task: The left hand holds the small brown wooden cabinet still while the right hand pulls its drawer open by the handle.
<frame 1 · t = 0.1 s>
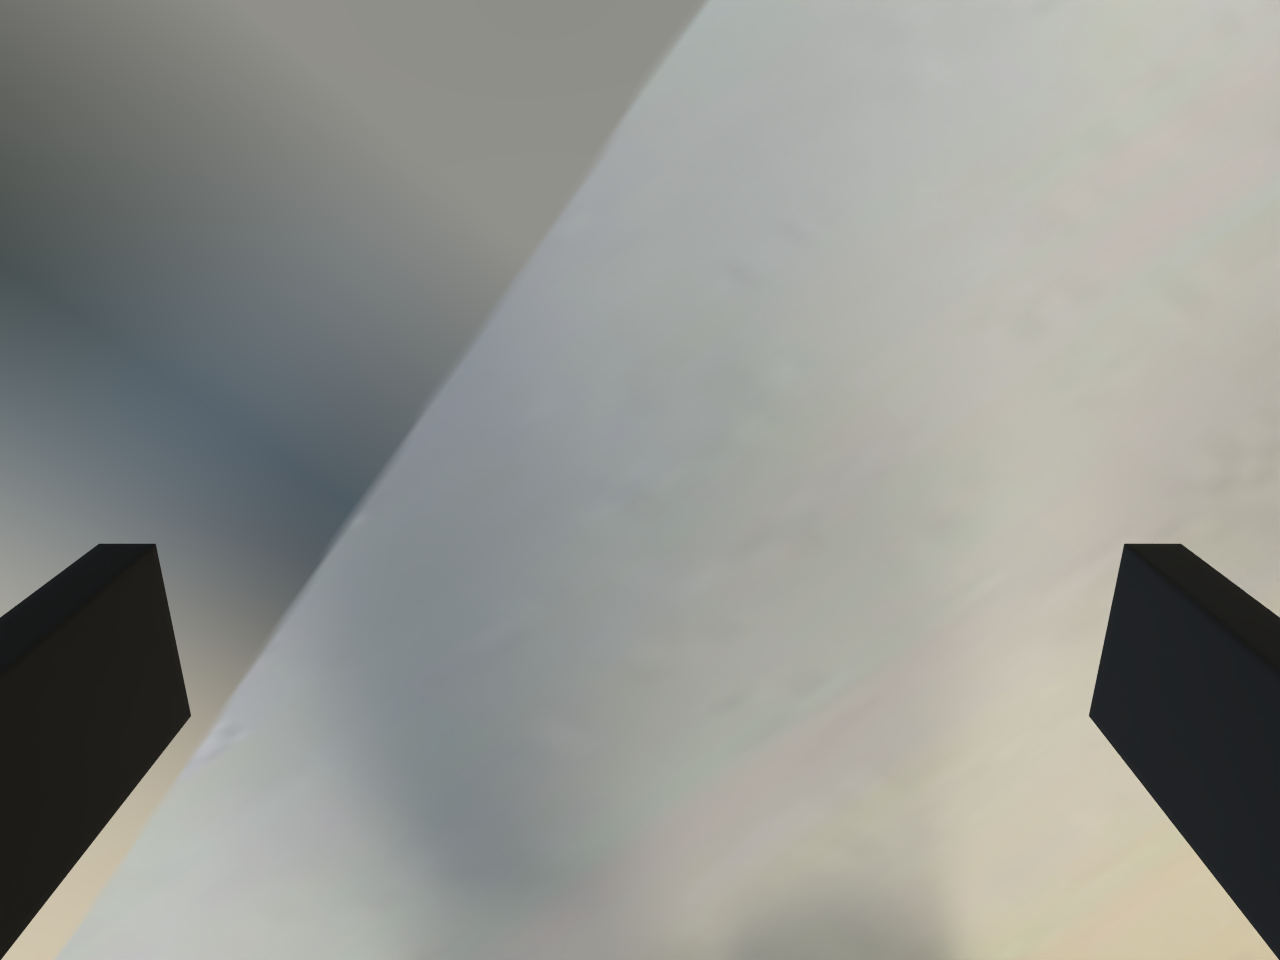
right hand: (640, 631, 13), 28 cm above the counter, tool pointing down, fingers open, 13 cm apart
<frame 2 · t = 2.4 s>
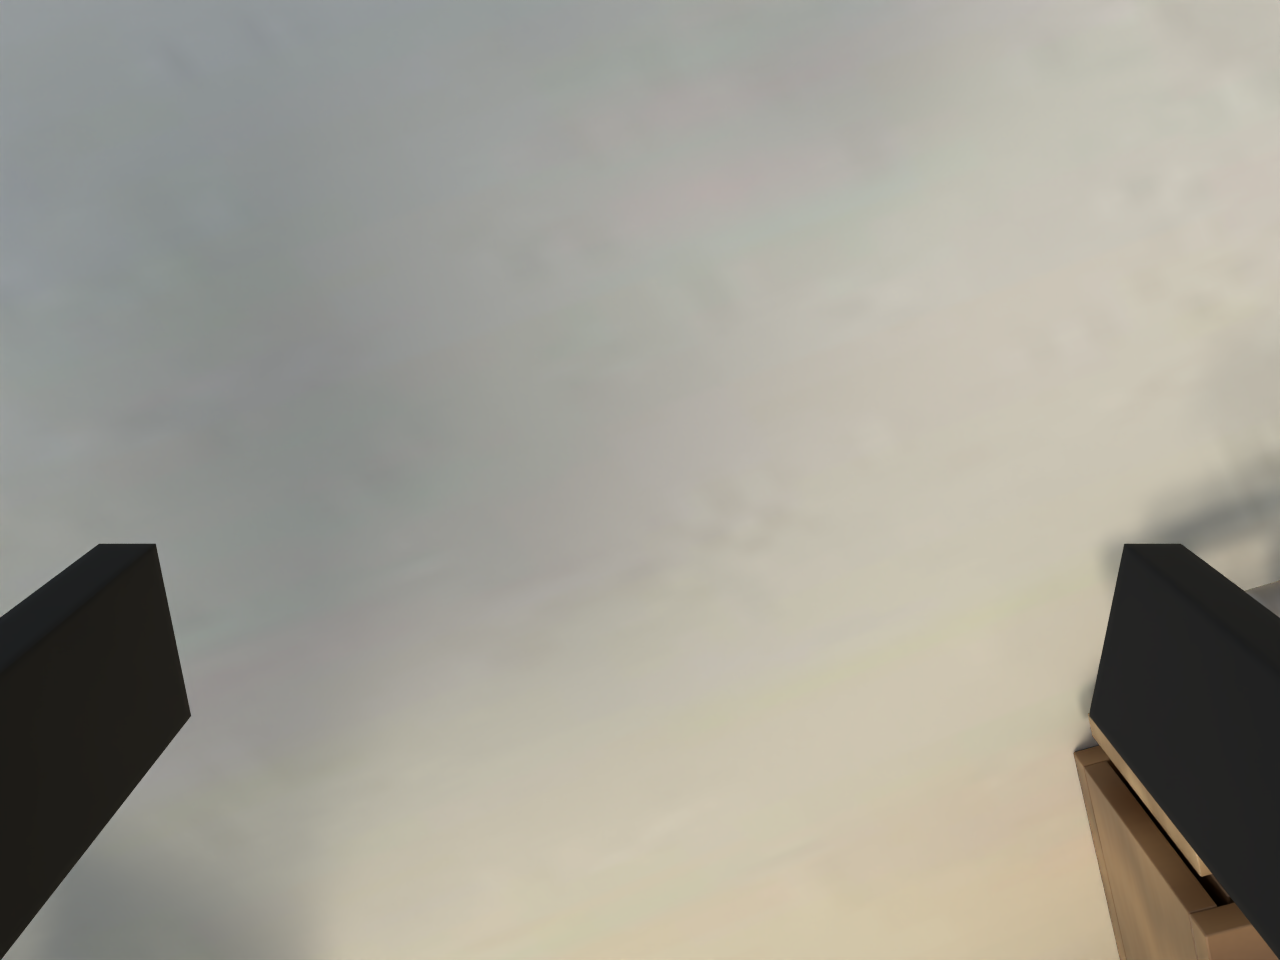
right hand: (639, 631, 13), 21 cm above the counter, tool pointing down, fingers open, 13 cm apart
cabinet: (1236, 904, 42), on the counter
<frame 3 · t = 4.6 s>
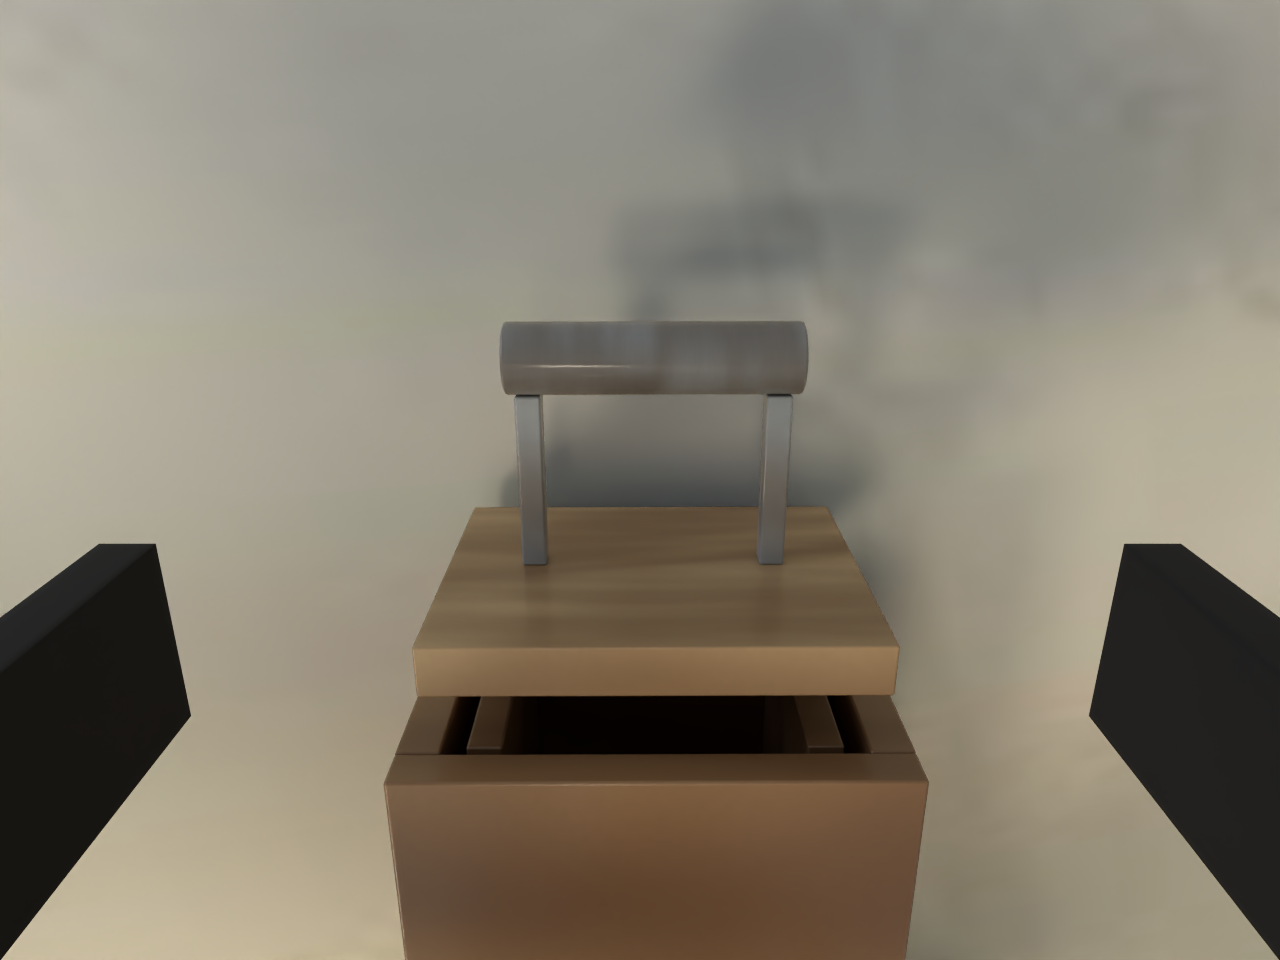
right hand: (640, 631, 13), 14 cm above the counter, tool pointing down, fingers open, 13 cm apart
drawer: (652, 807, 25), point 5 cm above the counter, slide at 1.4 cm
cabinet: (649, 856, 32), on the counter, touching left hand
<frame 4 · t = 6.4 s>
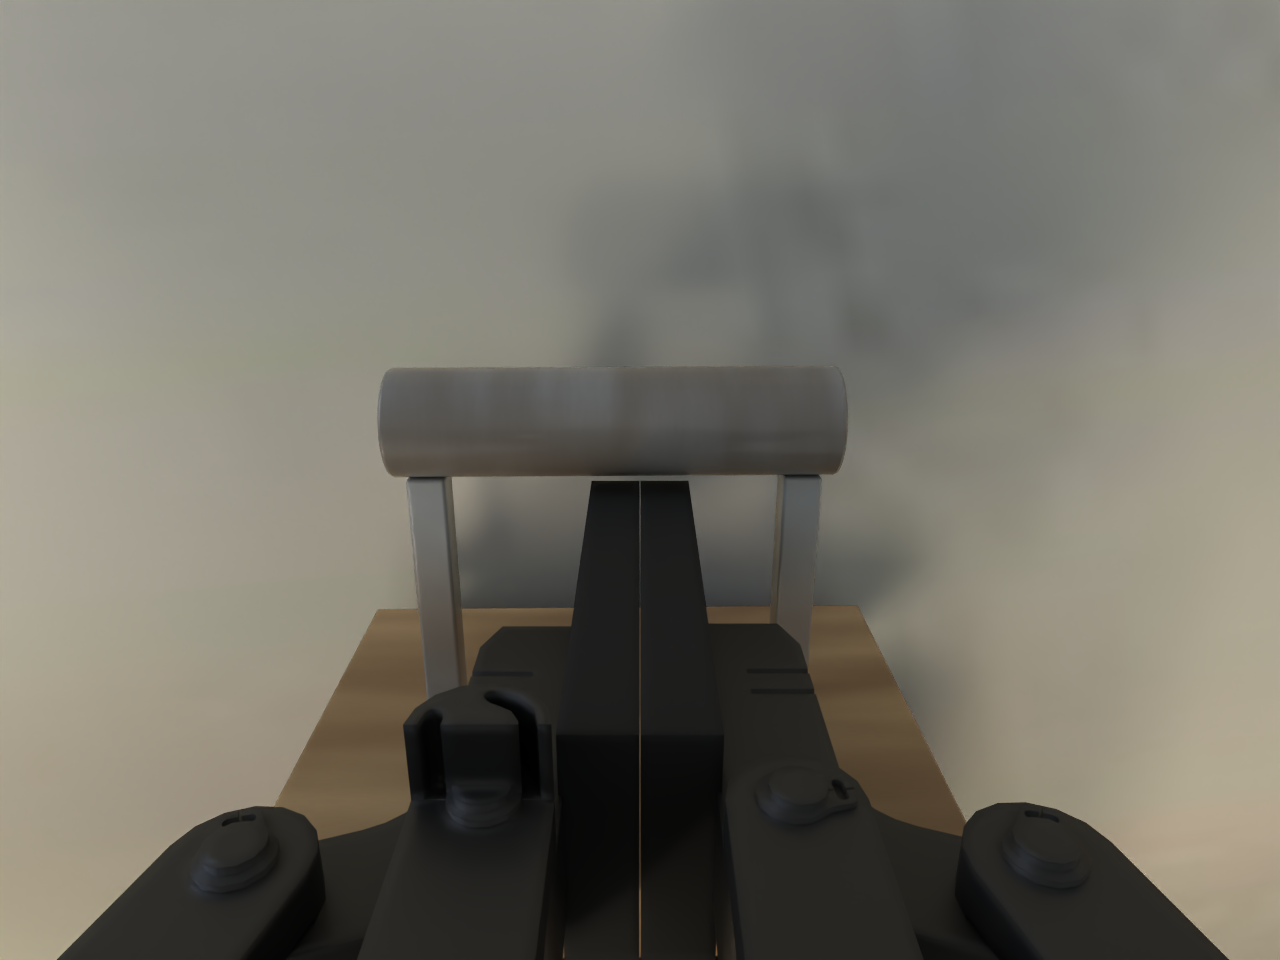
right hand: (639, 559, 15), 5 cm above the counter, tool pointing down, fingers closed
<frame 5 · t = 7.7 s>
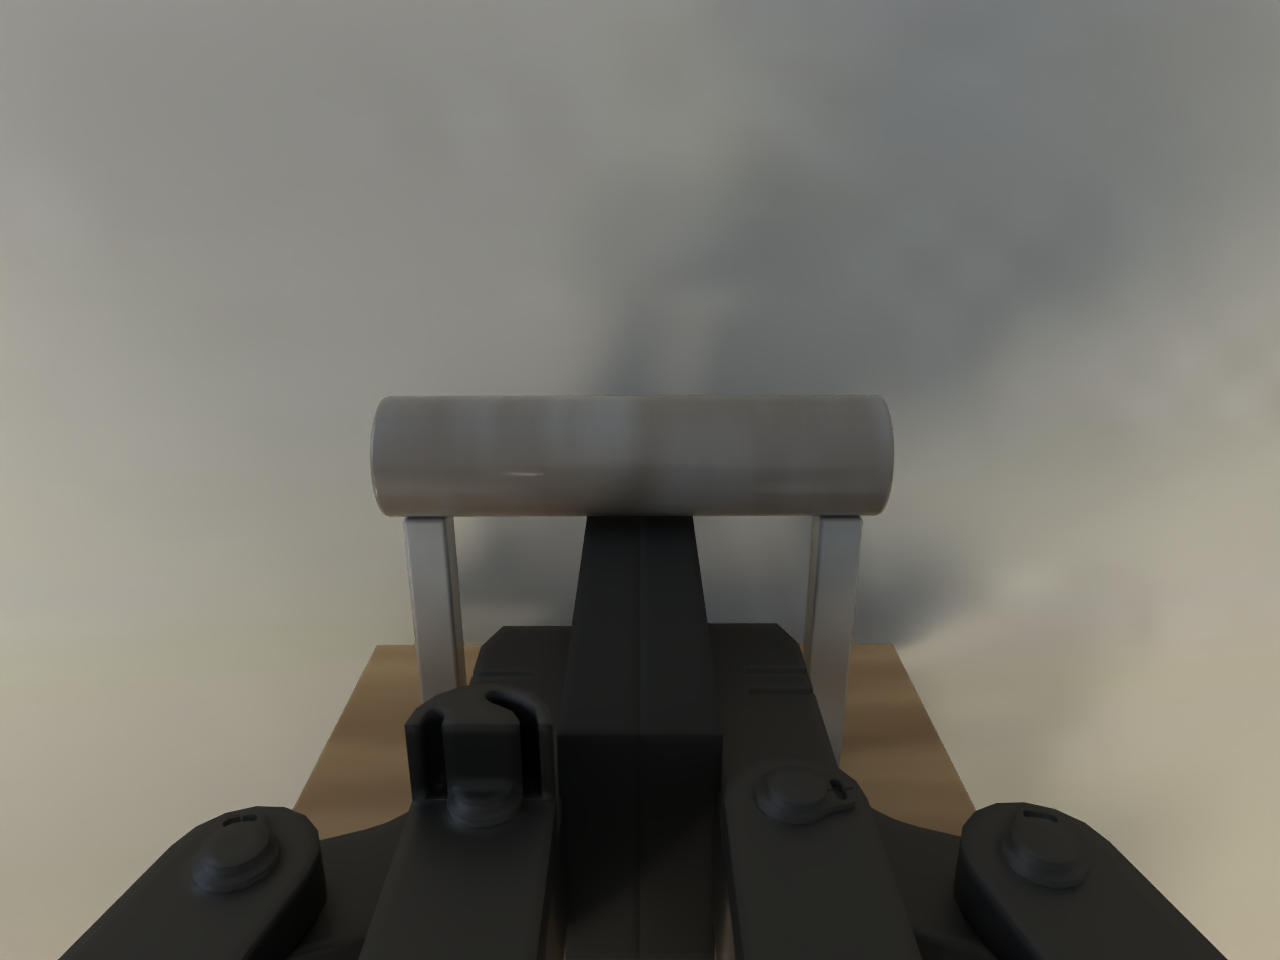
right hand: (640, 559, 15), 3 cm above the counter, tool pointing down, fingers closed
when the left hand's fingers open (5 cm above the counter, at t = 9.7 s): cabinet stays where it is, on the counter.
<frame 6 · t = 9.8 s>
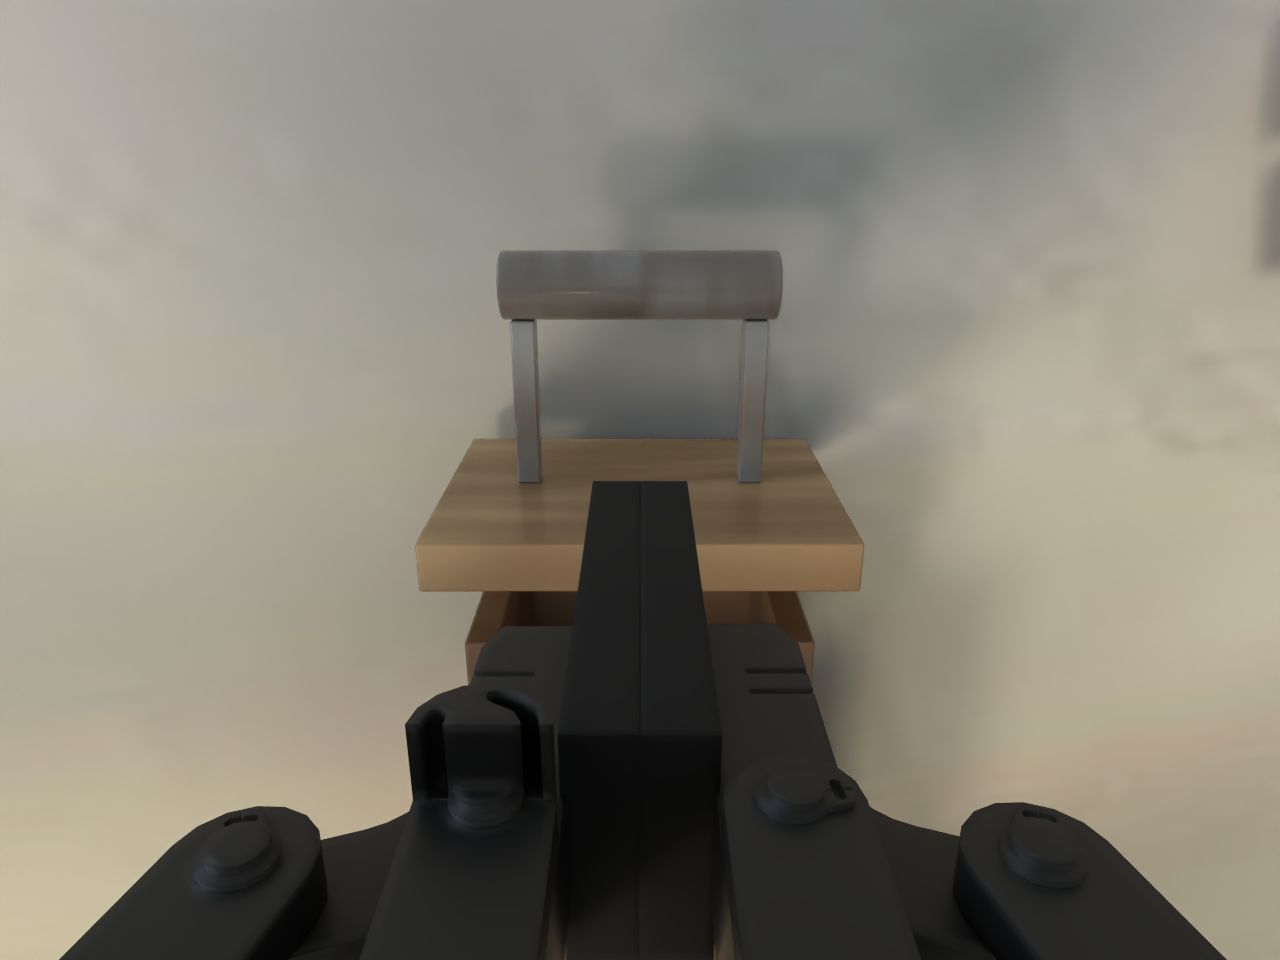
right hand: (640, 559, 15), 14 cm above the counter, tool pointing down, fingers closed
drawer: (639, 718, 26), point 5 cm above the counter, slide at 7.4 cm
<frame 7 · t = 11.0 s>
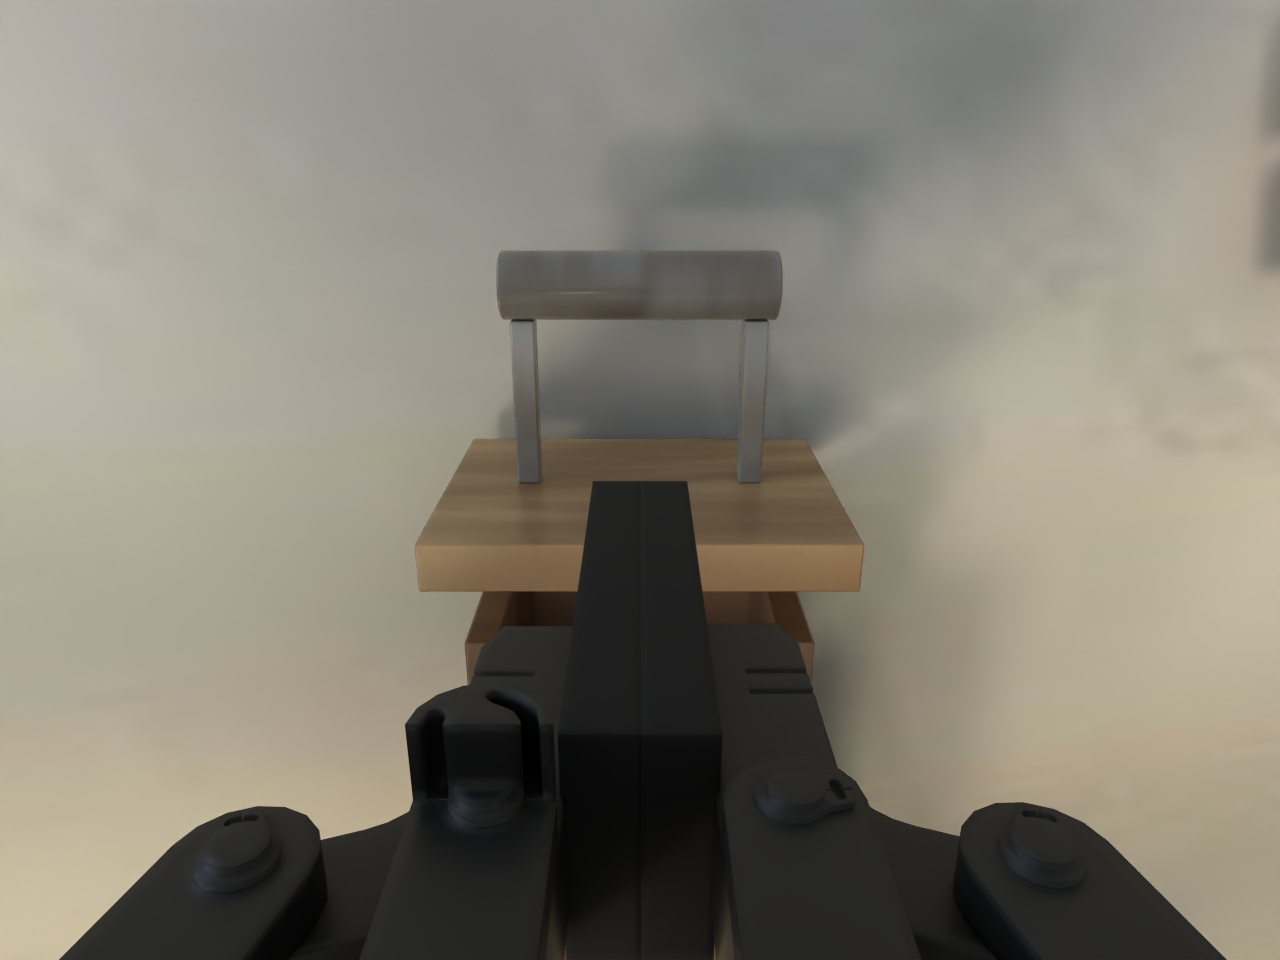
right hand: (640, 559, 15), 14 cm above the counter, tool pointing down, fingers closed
drawer: (639, 718, 26), point 5 cm above the counter, slide at 7.4 cm
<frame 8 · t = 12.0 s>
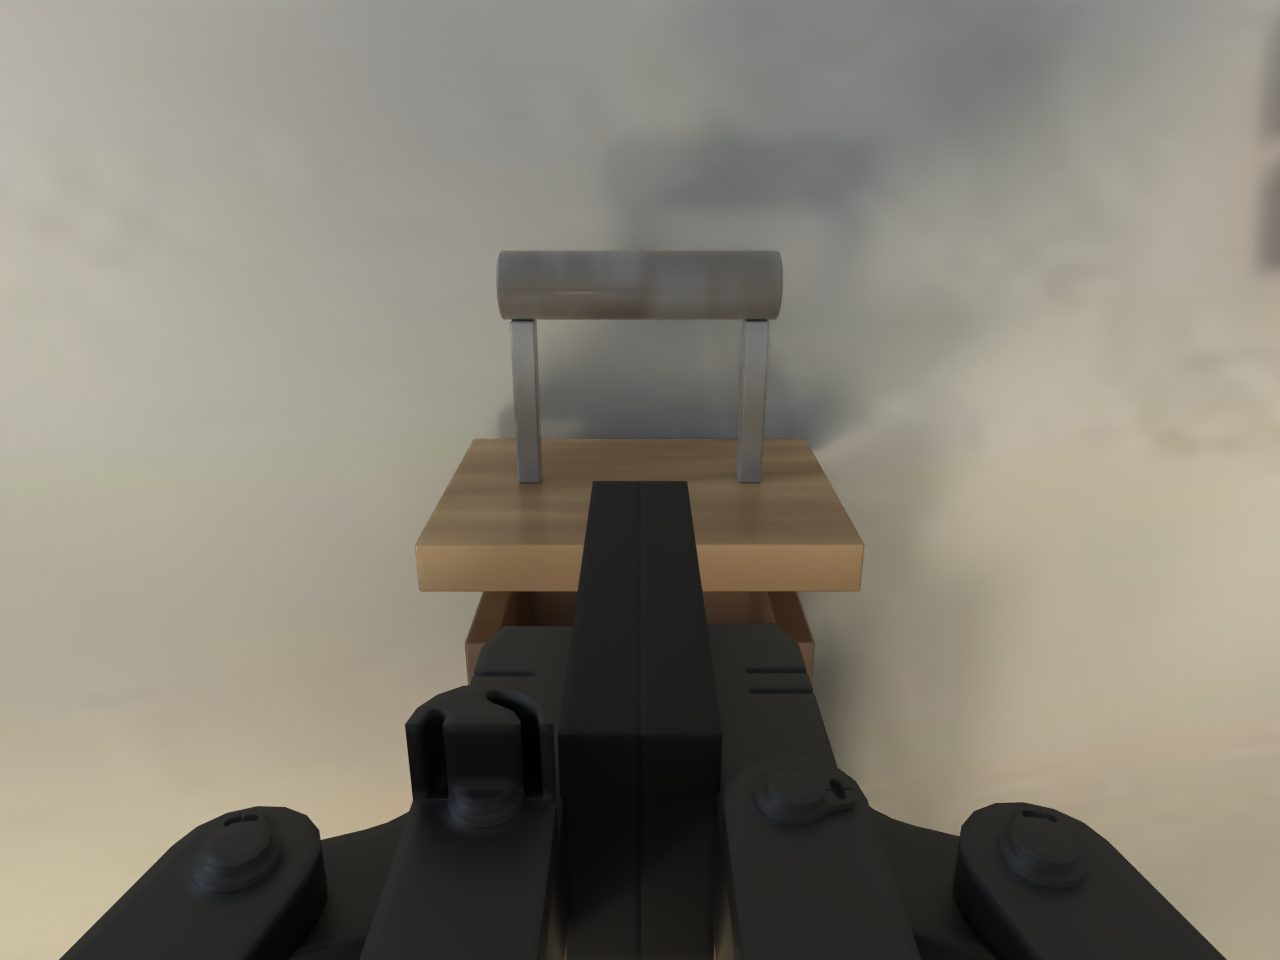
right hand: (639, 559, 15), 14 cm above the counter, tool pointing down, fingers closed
drawer: (639, 718, 26), point 5 cm above the counter, slide at 7.4 cm
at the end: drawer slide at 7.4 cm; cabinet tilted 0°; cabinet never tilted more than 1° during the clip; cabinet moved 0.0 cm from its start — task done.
